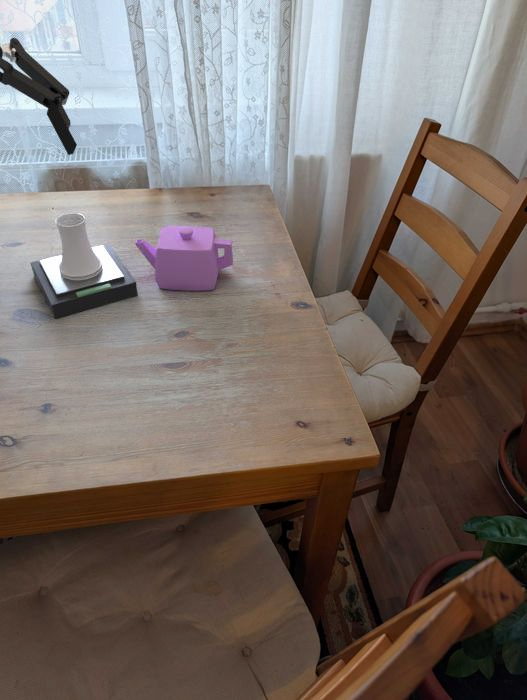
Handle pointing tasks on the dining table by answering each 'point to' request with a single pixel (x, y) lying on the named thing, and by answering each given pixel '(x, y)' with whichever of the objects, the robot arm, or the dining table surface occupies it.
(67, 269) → the vase
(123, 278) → the scale
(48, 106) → the robot arm
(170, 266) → the teapot
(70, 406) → the dining table surface
